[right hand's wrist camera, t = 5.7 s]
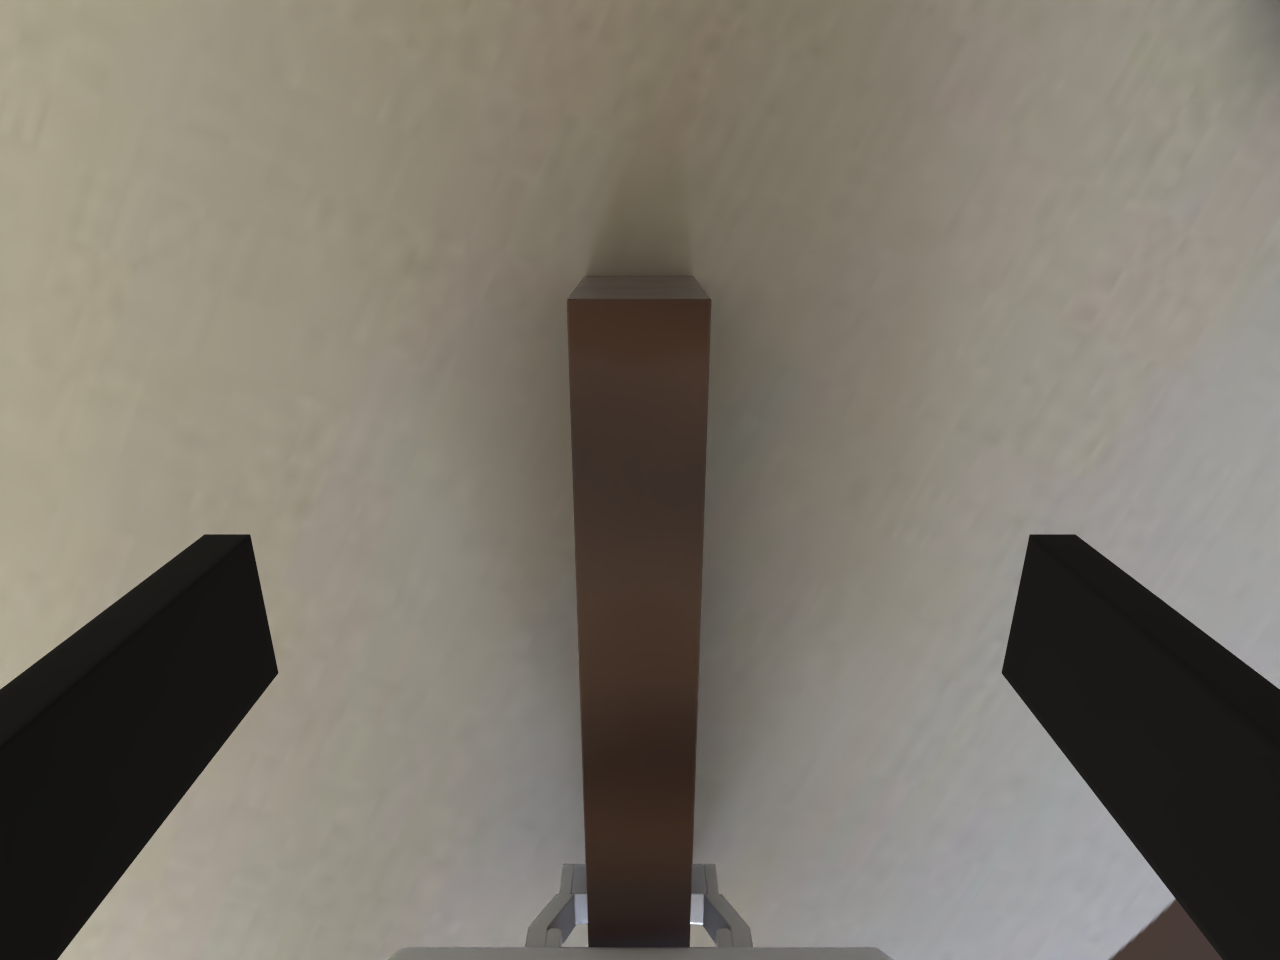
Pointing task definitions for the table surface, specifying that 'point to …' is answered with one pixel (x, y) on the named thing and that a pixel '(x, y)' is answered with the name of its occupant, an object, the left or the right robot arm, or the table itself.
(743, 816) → the table surface
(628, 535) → the walnut beam
